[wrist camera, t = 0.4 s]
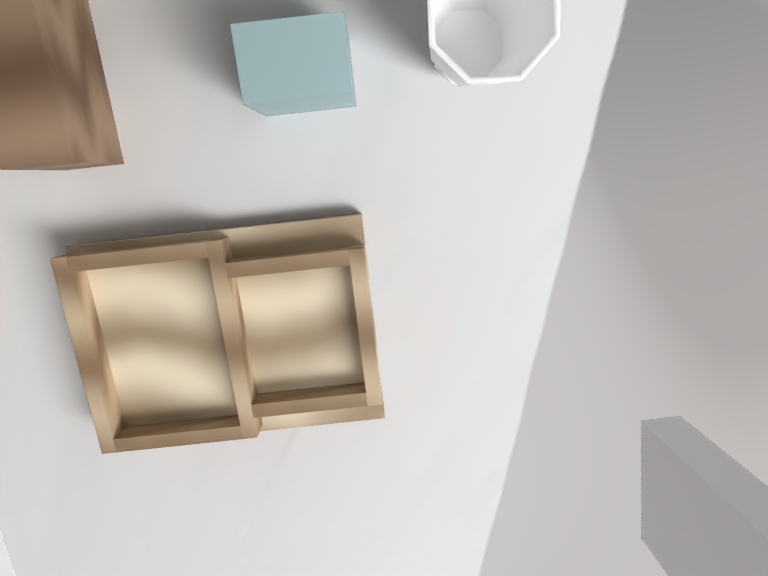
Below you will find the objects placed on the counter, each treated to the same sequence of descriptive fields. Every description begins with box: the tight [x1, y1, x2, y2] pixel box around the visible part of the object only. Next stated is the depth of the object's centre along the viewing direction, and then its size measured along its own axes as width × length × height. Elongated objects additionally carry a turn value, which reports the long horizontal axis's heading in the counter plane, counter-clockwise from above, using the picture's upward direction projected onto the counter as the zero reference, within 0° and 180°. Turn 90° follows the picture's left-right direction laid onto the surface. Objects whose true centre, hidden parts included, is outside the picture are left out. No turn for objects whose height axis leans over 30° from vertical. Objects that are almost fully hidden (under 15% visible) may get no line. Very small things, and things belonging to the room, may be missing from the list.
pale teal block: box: [230, 11, 357, 116], centre depth 29 cm, size 4×6×6 cm, turn 96°
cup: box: [427, 0, 560, 86], centre depth 28 cm, size 7×10×8 cm
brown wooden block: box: [0, 0, 124, 170], centre depth 29 cm, size 10×4×6 cm, turn 6°
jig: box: [50, 214, 385, 454], centre depth 34 cm, size 15×20×3 cm
